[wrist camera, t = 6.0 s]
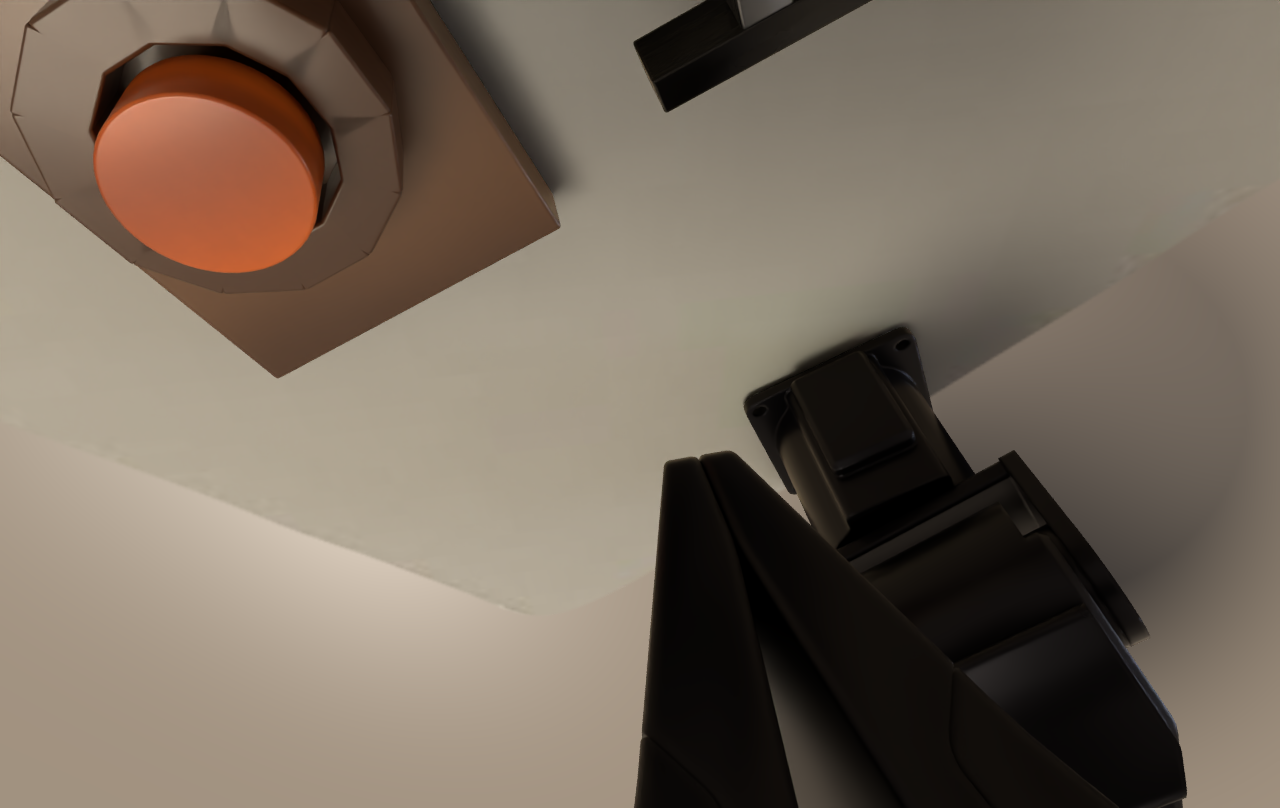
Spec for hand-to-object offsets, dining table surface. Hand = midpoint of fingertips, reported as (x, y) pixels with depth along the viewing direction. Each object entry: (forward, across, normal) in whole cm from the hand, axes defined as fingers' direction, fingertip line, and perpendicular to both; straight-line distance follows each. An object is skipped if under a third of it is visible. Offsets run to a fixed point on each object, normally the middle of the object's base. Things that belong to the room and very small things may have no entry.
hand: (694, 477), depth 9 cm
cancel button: (+10, +7, 0) cm, 12 cm away
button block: (+13, +7, 0) cm, 15 cm away
